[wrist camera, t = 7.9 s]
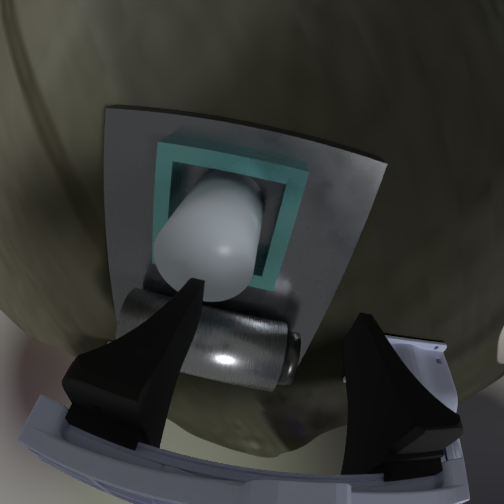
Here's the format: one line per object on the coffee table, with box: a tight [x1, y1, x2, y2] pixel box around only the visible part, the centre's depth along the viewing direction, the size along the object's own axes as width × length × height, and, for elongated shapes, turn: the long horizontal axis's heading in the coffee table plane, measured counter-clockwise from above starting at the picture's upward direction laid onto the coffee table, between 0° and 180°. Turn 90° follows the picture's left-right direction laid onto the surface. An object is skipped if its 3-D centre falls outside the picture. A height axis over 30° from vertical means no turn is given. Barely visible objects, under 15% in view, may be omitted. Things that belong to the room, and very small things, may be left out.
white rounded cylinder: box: [154, 170, 265, 302], centre depth 17 cm, size 5×5×6 cm
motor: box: [104, 105, 387, 392], centre depth 20 cm, size 18×20×7 cm
